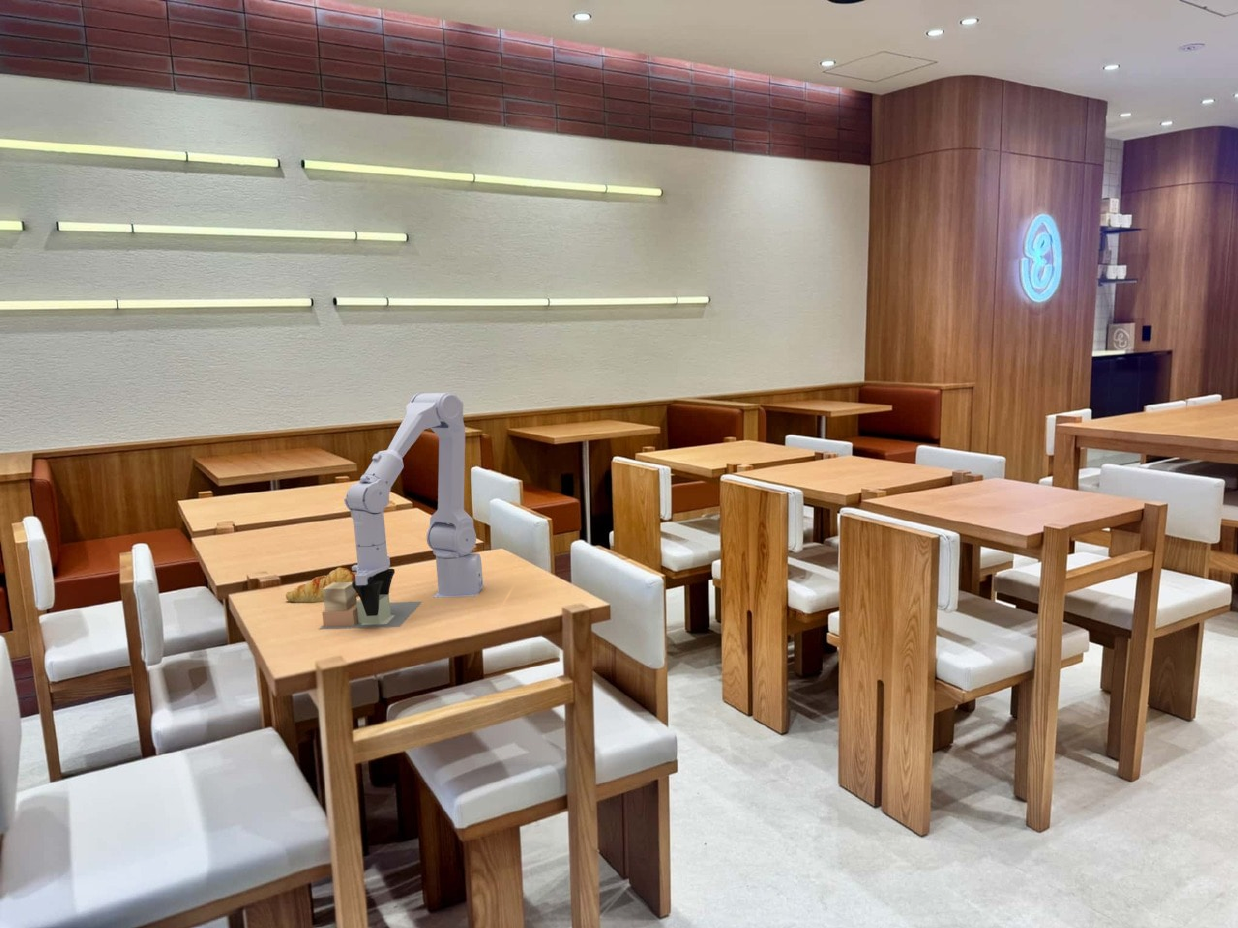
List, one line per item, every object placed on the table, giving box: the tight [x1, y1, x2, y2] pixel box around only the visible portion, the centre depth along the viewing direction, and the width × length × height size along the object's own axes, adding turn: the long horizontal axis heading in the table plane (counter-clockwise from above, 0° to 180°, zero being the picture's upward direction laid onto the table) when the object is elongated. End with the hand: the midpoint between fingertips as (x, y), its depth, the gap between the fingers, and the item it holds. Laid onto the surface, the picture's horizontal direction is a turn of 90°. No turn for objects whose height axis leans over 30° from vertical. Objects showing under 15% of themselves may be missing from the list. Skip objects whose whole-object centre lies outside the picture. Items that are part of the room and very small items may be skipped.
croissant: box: [285, 567, 359, 604], centre depth 185 cm, size 21×10×8 cm, turn 112°
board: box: [318, 601, 423, 630], centre depth 169 cm, size 16×16×1 cm
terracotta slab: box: [321, 604, 358, 627], centre depth 166 cm, size 6×6×3 cm
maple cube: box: [323, 582, 357, 611], centre depth 165 cm, size 4×4×4 cm
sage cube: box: [356, 594, 391, 624], centre depth 166 cm, size 4×4×4 cm
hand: (377, 610), depth 165 cm, fingers closed on sage cube, 5 cm apart
